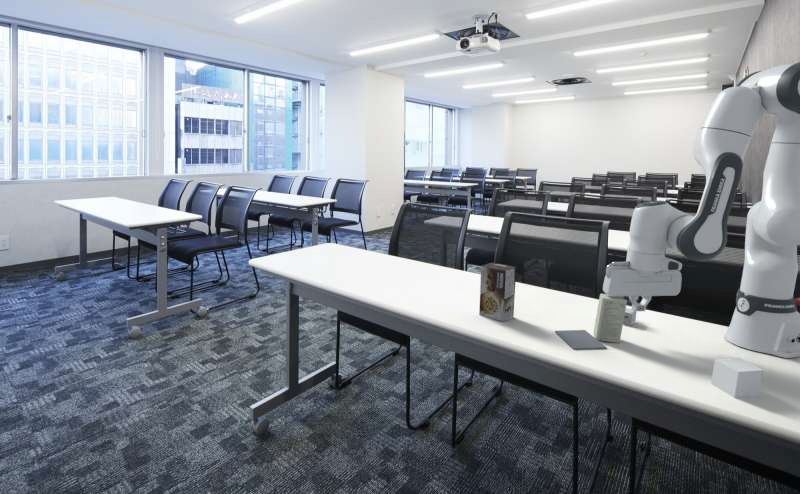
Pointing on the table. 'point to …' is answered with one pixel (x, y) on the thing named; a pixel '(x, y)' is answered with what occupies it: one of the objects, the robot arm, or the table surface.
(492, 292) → the coffee box
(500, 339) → the table surface
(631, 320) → the usb wall charger
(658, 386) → the table surface
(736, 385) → the light grey cube
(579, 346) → the rubber mat
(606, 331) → the skincare box
